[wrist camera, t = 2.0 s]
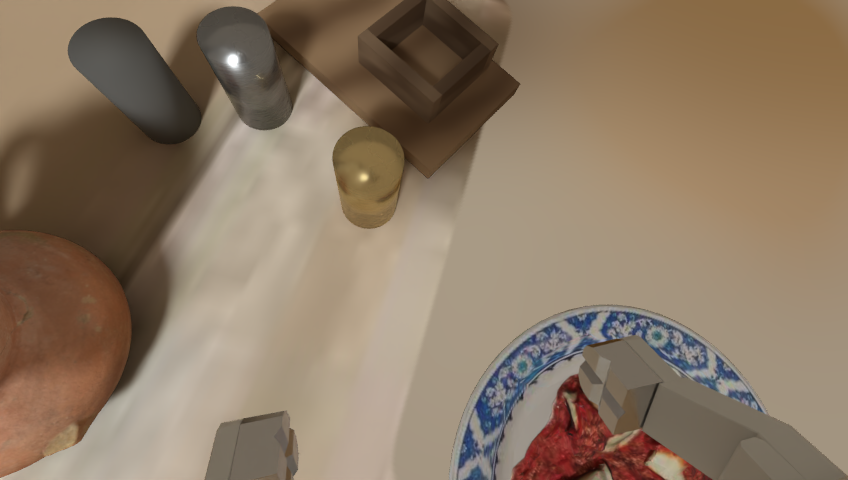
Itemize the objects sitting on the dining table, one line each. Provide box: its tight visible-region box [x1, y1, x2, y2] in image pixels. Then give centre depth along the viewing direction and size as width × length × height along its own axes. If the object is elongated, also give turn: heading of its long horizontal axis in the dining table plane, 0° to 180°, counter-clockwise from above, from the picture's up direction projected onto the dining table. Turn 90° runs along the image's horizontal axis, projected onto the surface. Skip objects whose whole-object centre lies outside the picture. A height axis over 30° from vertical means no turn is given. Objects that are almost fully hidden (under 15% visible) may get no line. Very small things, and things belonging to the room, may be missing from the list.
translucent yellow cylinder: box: [333, 126, 404, 229], centre depth 28 cm, size 4×4×8 cm
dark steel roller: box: [197, 7, 292, 130], centre depth 29 cm, size 4×4×8 cm
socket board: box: [257, 0, 520, 178], centre depth 34 cm, size 20×12×4 cm, turn 48°
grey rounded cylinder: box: [68, 18, 201, 144], centre depth 28 cm, size 4×4×8 cm
